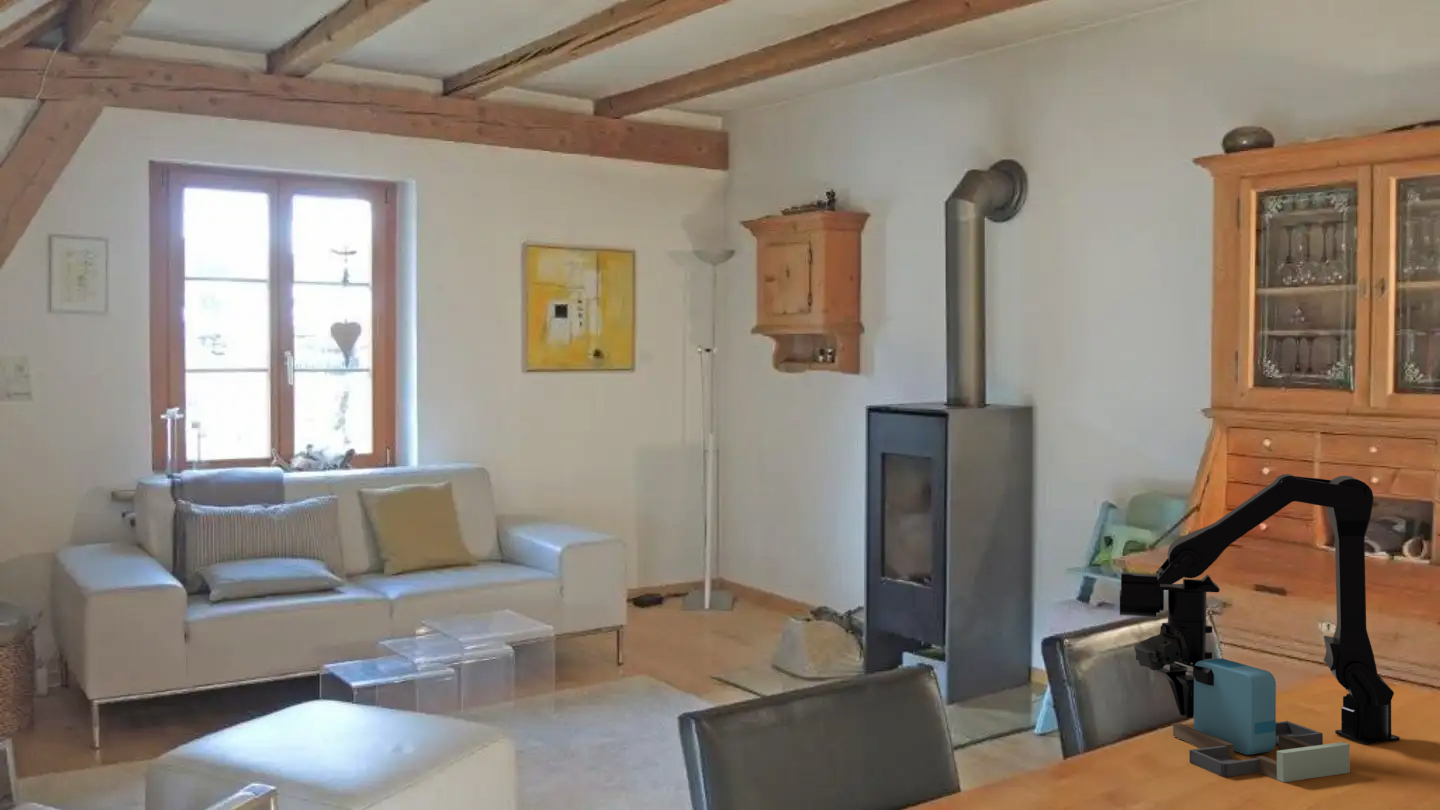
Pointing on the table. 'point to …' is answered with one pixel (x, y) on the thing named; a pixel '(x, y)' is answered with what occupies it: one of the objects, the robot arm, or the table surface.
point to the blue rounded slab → (1237, 706)
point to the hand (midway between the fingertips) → (1186, 716)
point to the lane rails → (1207, 740)
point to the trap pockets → (1226, 767)
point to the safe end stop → (1313, 761)
